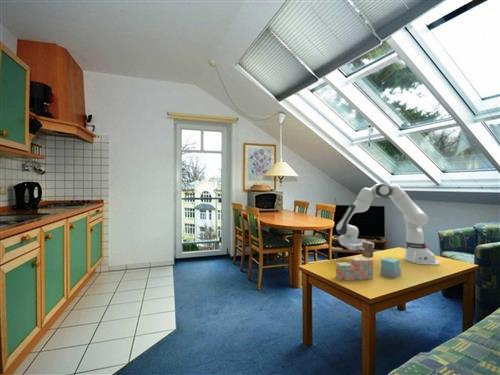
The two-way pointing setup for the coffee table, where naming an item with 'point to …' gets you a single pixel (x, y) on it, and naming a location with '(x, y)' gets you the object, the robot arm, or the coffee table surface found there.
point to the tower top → (390, 263)
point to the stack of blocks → (355, 269)
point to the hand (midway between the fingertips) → (368, 248)
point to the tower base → (391, 272)
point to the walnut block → (367, 249)
